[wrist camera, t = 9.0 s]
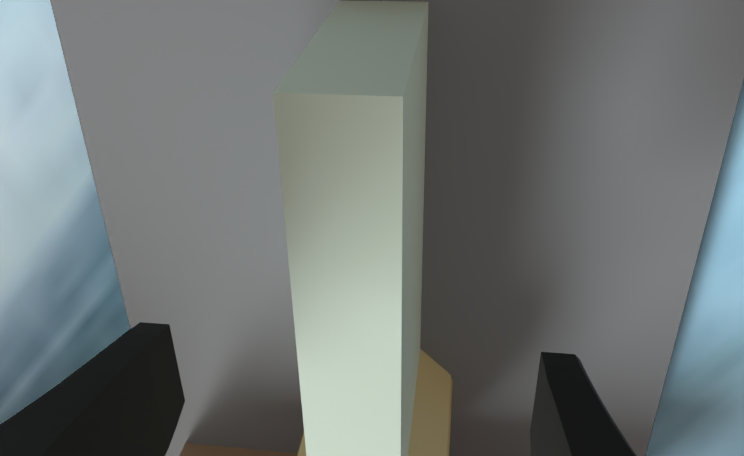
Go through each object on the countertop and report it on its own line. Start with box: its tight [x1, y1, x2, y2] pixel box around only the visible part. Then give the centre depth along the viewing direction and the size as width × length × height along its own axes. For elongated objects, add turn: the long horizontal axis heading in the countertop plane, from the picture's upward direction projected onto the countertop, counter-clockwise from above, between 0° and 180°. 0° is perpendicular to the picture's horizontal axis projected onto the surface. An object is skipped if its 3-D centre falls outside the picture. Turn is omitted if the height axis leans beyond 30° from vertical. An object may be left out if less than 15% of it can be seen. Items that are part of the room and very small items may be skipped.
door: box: [273, 0, 453, 456], centre depth 17 cm, size 14×4×6 cm, turn 1°
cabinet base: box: [50, 0, 744, 456], centre depth 17 cm, size 20×16×7 cm
